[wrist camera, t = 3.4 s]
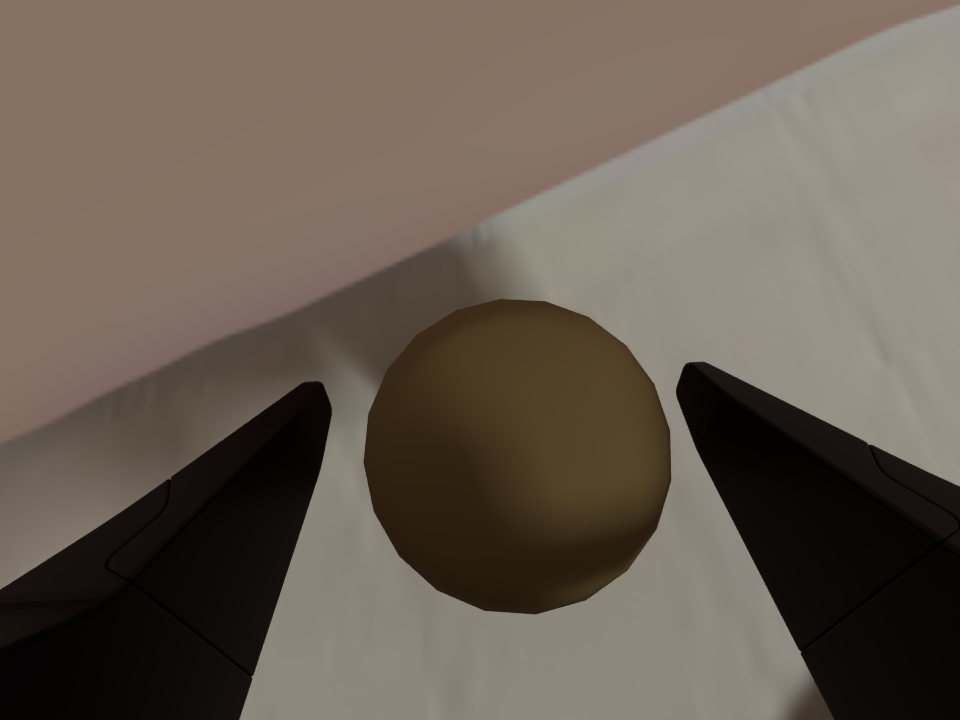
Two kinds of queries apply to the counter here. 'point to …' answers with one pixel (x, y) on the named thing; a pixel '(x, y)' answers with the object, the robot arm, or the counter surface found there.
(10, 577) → the counter surface
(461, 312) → the cork
